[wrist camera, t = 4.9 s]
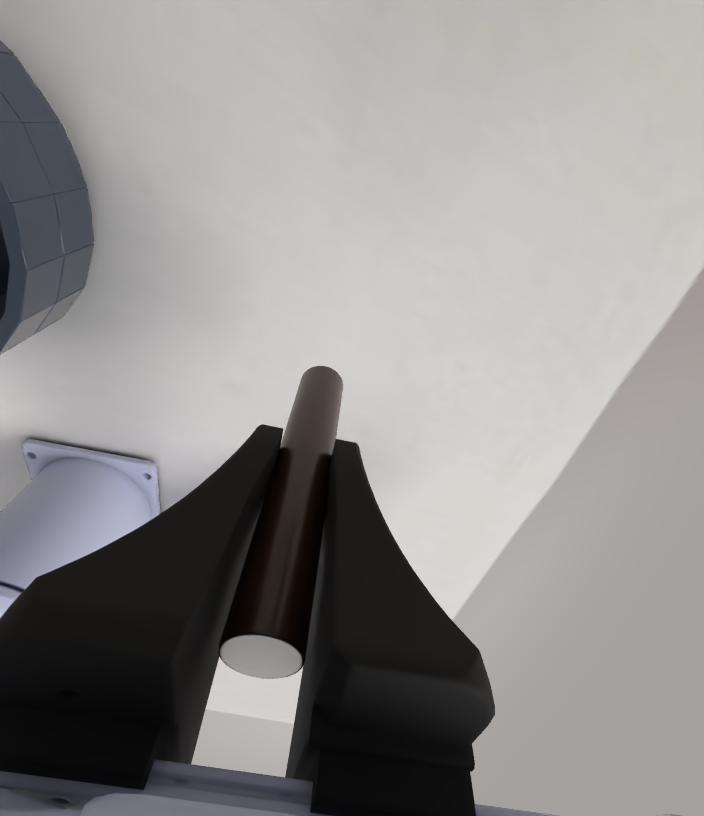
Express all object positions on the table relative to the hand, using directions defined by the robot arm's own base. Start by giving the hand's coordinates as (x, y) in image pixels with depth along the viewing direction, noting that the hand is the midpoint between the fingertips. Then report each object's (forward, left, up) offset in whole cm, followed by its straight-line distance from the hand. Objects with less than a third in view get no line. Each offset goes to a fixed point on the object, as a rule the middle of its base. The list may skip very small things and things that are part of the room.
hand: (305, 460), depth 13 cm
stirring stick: (0, 0, -4) cm, 4 cm away
